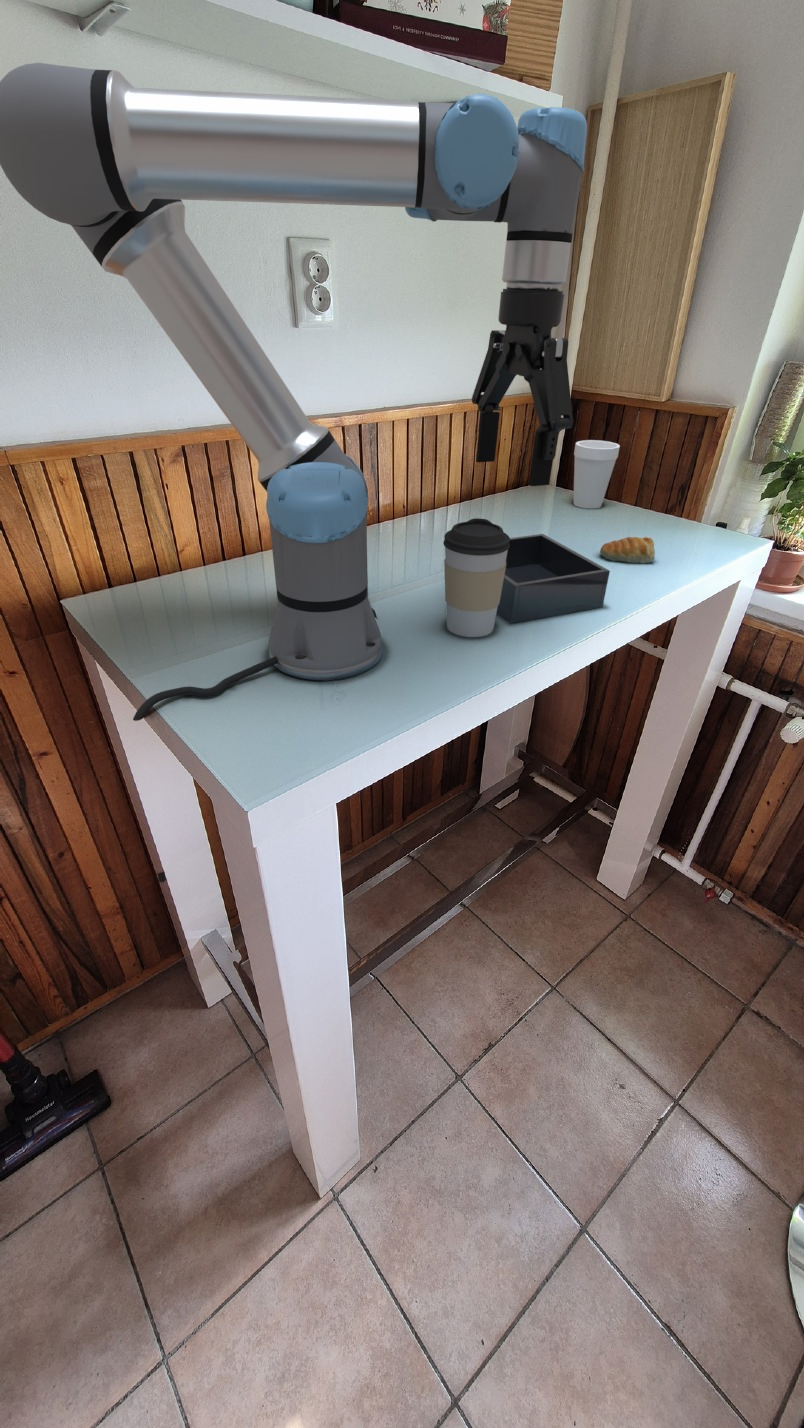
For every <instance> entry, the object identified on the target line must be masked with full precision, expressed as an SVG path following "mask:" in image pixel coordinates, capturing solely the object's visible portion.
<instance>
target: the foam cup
mask: <svg viewBox="0 0 804 1428" xmlns="http://www.w3.org/2000/svg"><path fill="white" fill-rule="evenodd" d="M620 447H621V445H620V444H619V443H616V442H612V441H609V440H599V439H598V440H597V439H596V440H595V439H585V440H579V441H578V440H577V441H576V442H575V445H574V450H573V451H574V452H573V456H574V465H573V466H574V467H573V468H574V469H573V470H574V471H573V502H572V503H573V505H574V506H576V507H577V508H583V509H599V508H601V507H602V505H603V502H604V499H605V496H606V493H607V490H608V487H609V482H610V479H611V477H612V474H613V471H614V468H615V464H616V461H617V459H618V458H619V452H620Z"/></svg>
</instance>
